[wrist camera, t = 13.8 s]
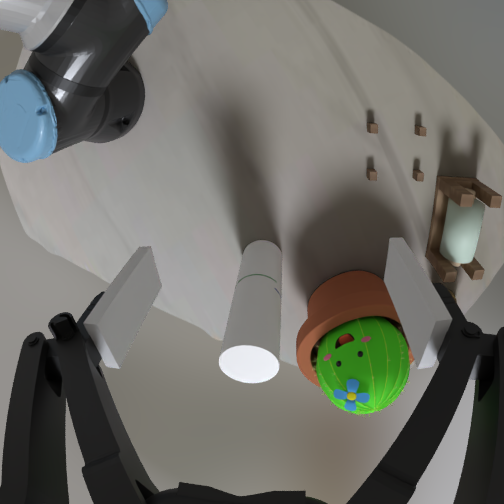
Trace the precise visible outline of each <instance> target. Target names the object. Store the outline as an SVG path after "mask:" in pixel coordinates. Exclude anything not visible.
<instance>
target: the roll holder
mask: <svg viewBox="0 0 504 504" xmlns="http://www.w3.org/2000/svg"><path fill="white" fill-rule="evenodd" d="M465 188H468V189H472V190H474V191H475V192H476V193H475V199H476V197H477V198H478V199H479V200H481V201H482V202H483V203H485V204H486V205H487V206H489V207H490V208H500V205H501V200H502V196H501V195H499V194H498V193H496V192H495V191H493V190H492V189H491V188H489V187H487V186H486V185H484V184H483V183H481V182H480V181H479V180H478V179H476V178H464V177H448V176H437V181H436V191H435V199H434V207H433V214H432V221H431V227H430V233H429V239H428V245H427V250H426V255H425V257H426V258H427V259H428V260H429V261H430V263H431V264H432V266H433V267H434V269H435V270H436V272H437V273H438V275H439V276H440V278H441V279H442V281H443V282H455V279H456V275H457V271H456V269H455V268H454V267H453V265H452V264H451V263H450V261H449V260H448V259H446V258H445V257H444V256H443V255H442V254H441V253H440V245H441V240H442V235H443V230H444V224H445V218H446V212H447V206H448V199H449V198H450V199H451V200H453V201H454V202H455V203H456V204H457V205H459V206H460V207H472V203H473V197H474V195H473V194H472V193H471V192H469V191H468V190H466V189H465ZM460 265H461V266H462V268H463V269H464V270H465V271H466V273H467V274H468V275H469V277H470V278H471V279H472V280H479V279H482V277H483V274H484V268H483V267H482V266H481V265H480V264H479V262H478V261H477V260H476V259H475V258H473V260H472V261H471V262H470V263H465V264H462V263H461V264H460Z"/></svg>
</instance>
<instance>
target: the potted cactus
mask: <svg viewBox="0 0 504 504" xmlns="http://www.w3.org/2000/svg"><path fill="white" fill-rule="evenodd" d="M307 311H308V319H307V320H306V321H305V322H304V324H303V325H302V327H301V328H300V330H299V332H298V335H297V341H296V356H297V363H298V366H299V368H300V370H301V372H302V373H303V374H304V376H305V377H306V378H307V379H308V380H310V381H311V382H312V383H314V384H315V385H317V386H319V387H321V388H322V389H323V391H324V392H325V394H326V395H327V396H328V398H329V399H330V400H331V401H332V402H333V403H334V404H335V405H336V406H337V407H338V408H341V409H343V410H345V411H349V412H352V413H355V414H368V413H370V412H372V413H373V412H374V411H379V410H380V409H383V408H385V407H387V406H388V405H389V404H391V403H392V402H393V401H394V400H395V399H396V398H397V397H398V396H399V394H400V392H401V391H403V388H404V386H405V384H406V382H407V379H408V376H409V370H410V364H411V363H412V362H413V361H414V357H413V354H412V352H411V349H410V346H409V343H408V340H407V338H406V335H405V332H404V330H403V327H402V324H401V322H400V319H399V317H398V314H397V312H396V309H395V307H394V304H393V302H392V299H391V297H390V294H389V292H388V290H387V287H386V285H385V283H384V281H383V280H382V279H381V278H379V277H378V276H376V275H375V274H372V273H370V272H366V271H350V272H346V273H342V274H339V275H337V276H334V277H333V278H331V279H329V280H327V281H326V282H324V283H323V284H322V285H320V286H319V287H318V288H317V289H316V290H315V292H314V293H313V294H312V296H311V298H310V300H309V303H308V309H307Z"/></svg>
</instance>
